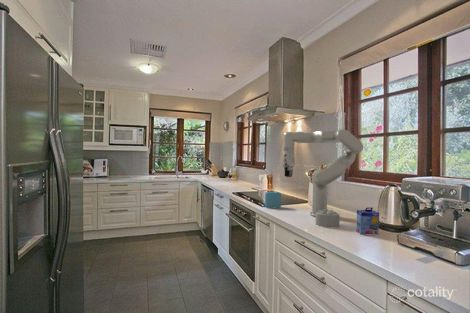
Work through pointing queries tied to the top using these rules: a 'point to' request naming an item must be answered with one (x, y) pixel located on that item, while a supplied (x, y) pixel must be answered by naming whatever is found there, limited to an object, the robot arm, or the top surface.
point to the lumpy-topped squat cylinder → (327, 218)
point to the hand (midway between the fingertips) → (288, 175)
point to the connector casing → (290, 172)
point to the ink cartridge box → (367, 221)
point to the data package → (273, 199)
